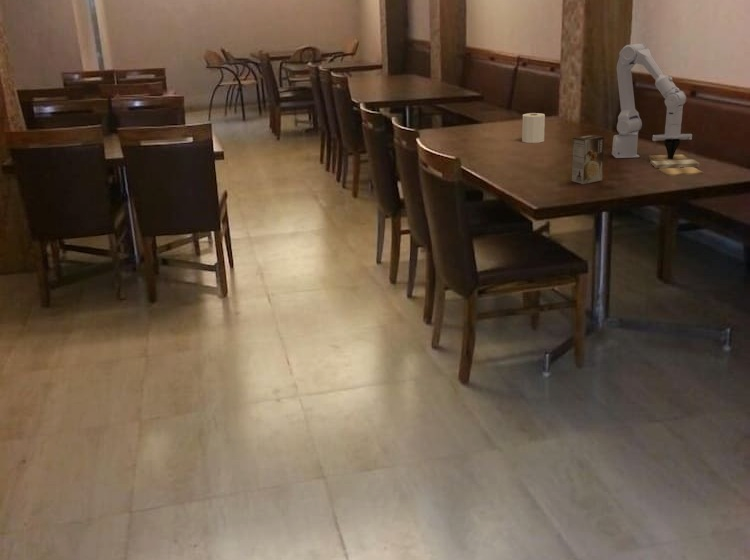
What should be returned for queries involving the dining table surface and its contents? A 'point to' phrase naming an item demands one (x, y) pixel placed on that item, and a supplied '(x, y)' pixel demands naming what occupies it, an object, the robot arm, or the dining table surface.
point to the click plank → (666, 157)
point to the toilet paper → (533, 127)
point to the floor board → (675, 163)
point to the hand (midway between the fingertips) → (670, 158)
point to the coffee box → (587, 159)
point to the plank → (680, 171)
